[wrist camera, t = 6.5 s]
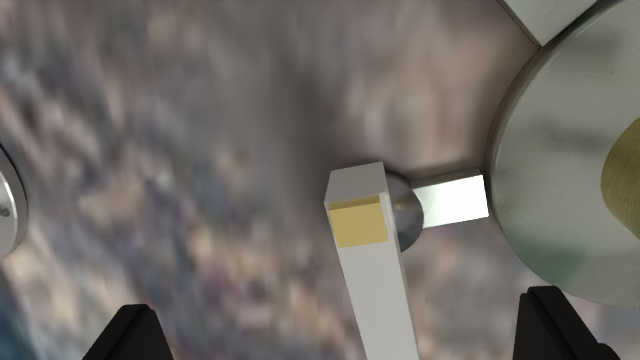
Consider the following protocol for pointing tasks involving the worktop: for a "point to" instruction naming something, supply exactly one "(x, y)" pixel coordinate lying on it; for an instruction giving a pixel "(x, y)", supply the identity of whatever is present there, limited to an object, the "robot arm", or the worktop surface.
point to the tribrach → (557, 155)
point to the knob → (372, 261)
